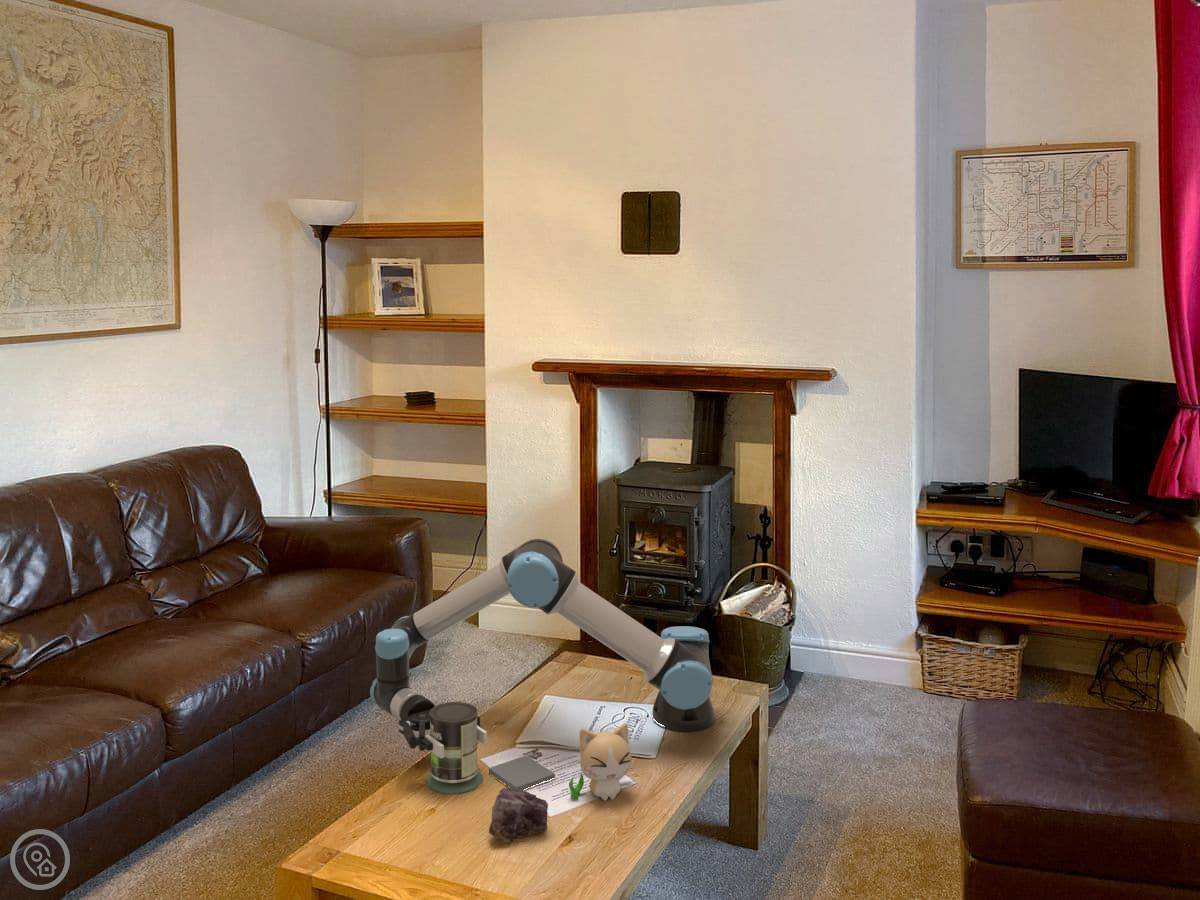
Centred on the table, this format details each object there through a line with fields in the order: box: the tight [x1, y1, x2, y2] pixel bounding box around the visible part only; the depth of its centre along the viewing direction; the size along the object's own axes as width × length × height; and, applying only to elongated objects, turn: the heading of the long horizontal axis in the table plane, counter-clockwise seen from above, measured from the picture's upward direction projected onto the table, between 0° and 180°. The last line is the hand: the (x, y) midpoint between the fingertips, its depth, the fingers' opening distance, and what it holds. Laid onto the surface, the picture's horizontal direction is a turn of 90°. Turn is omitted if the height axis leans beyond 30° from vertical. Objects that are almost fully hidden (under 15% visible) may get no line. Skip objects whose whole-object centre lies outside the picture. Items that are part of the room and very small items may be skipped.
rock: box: [488, 787, 549, 844], centre depth 221 cm, size 12×9×10 cm
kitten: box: [568, 722, 633, 802], centre depth 236 cm, size 15×10×15 cm, turn 106°
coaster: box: [426, 769, 484, 795], centre depth 243 cm, size 12×12×1 cm
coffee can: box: [429, 701, 479, 783], centre depth 241 cm, size 10×10×14 cm
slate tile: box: [488, 755, 556, 791], centre depth 245 cm, size 2×10×11 cm
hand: (464, 745), depth 237 cm, fingers closed on coffee can, 10 cm apart
